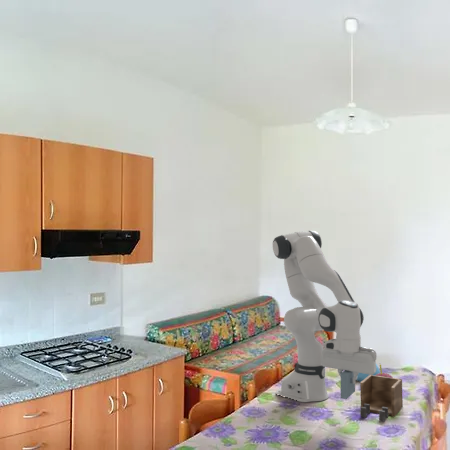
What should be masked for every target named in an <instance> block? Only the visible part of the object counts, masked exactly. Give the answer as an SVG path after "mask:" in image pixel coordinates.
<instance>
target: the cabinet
mask: <svg viewBox="0 0 450 450" xmlns="http://www.w3.org/2000/svg"><path fill="white" fill-rule="evenodd" d="M359 382H360V389H359V390H360V417H361V418H367V417H368V416H367V415H370V414H371V413H375V414H378V419H379V422H380V421H381V422H385V421H386V419H388V418H389V416H391V417H393V418H395V417H396V416H397V415H398V413H399V412H400V411H401V410H402V408H403V379H402V378H395V377H393V378H390V377H383V376H376V375H369V376H368V377H367V378H365V379H364V380H363V381H359Z"/></svg>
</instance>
